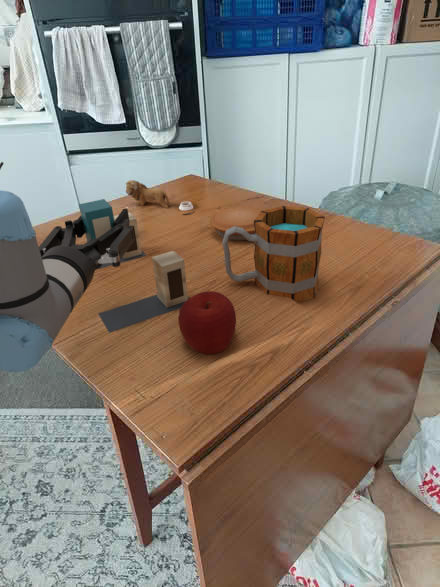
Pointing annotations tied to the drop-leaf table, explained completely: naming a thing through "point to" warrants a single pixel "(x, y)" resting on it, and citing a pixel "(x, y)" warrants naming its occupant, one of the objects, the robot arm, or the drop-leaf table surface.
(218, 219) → the pie
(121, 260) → the board
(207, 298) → the apple
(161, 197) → the lion figurine
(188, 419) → the drop-leaf table surface
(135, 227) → the letter
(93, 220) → the teal upright block
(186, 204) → the white jar
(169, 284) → the cream upright block
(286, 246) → the mug
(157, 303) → the front word board
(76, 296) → the robot arm
